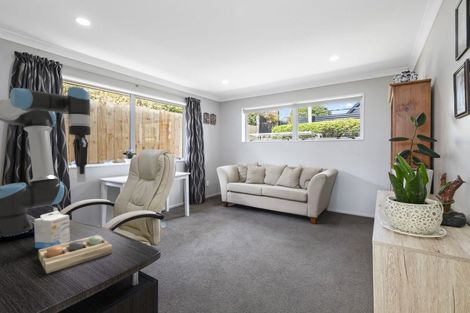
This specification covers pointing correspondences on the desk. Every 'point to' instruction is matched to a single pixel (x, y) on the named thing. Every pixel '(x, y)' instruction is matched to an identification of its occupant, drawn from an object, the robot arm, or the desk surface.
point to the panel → (74, 255)
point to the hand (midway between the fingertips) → (81, 181)
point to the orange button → (54, 251)
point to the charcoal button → (75, 246)
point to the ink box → (51, 230)
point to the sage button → (95, 240)
